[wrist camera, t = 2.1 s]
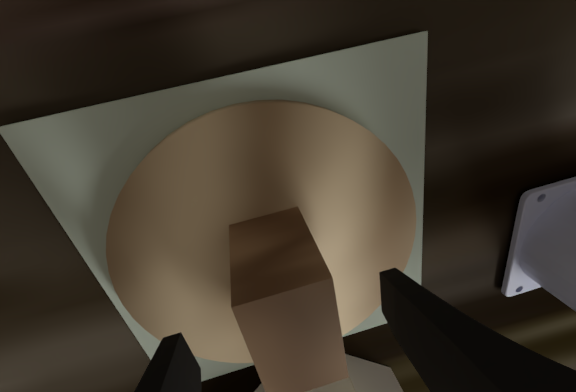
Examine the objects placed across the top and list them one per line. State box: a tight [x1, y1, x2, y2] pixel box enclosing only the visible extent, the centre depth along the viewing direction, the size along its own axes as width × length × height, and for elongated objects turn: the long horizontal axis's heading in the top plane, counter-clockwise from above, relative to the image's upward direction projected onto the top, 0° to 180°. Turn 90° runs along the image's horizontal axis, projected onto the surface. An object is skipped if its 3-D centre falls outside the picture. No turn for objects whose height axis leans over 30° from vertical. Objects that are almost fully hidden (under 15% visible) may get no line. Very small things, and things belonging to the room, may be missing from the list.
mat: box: [0, 31, 428, 381], centre depth 14 cm, size 16×16×1 cm
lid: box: [106, 100, 416, 392], centre depth 12 cm, size 14×14×6 cm
